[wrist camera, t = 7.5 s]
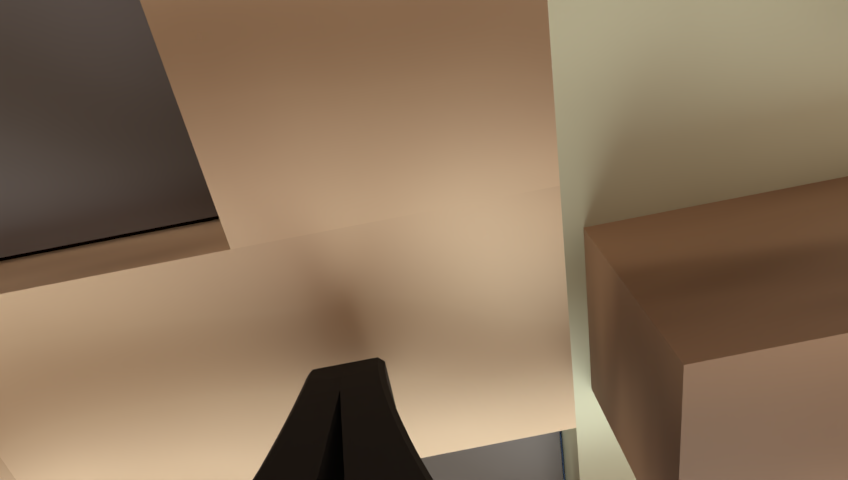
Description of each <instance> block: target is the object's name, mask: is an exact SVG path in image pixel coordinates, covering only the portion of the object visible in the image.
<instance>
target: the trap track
mask: <svg viewBox="0 0 848 480" xmlns="http://www.w3.org/2000/svg"><path fill="white" fill-rule="evenodd" d="M846 176H848V0H0V258H2V257H8V256H13V255H18V254H23V253H28V252H33V251H39V250H44V249H49V248H54V247H59V246H64V245H70V244H75V243H80V242H85V241H90V240H96V239H101V238H106V237H111V236H116V235H121V234H127V233H132V232H137V231H142V230H147V229H152V228H158V227H163V226H168V225H173V224H178V223H183V222H189V221H194V220H199V219H204V218H209V217H214V216H219V219H216V220H211V221H205V222H200V223H195V224H190V225H185V226H180V227H174V228H169V229H164V230H159V231H154V232H149V233H143V234H138V235H133V236H128V237H123V238H117V239H112V240H107V241H102V242H97V243H92V244H86V245H81V246H76V247H71V248H66V249H61V250H55V251H50V252H45V253H40V254H35V255H30V256H24V257H19V258H14V259H9V260H4V261H0V480H253V478H254V477H255V475H256V473H257V472H258V470H259V468H260V467H261V465H262V463H263V462H264V460H265V458H266V456H267V454H268V453H269V451H270V449H271V447H272V445H273V444H274V442H275V440H276V438H277V436H278V435H279V433H280V431H281V429H282V427H283V425H284V423H285V421H286V419H287V417H288V415H289V414H290V412H291V410H292V408H293V406H294V404H295V402H296V399H297V397H298V395H299V393H300V391H301V389H302V387H303V385H304V383H305V380H306V378H307V376H308V375H309V373H310V372H311V371H312V370H313V369H318V368H323V367H329V366H334V365H339V364H344V363H350V362H355V361H360V360H366V359H371V358H376V357H378V358H380V359H382V360H384V361H385V364H386V368H387V372H388V376H389V380H390V384H391V388H392V392H393V397H394V401H395V405H396V409H397V411H398V414H399V416H400V418H401V420H402V422H403V424H404V427H405V429H406V431H407V433H408V435H409V437H410V439H411V441H412V443H413V445H414V447H415V449H416V451H417V452H418V454H419V456H420V458H421V460H422V461H423V463H424V465H425V467H426V468H427V470H428V472H429V473H430V475H431V477H432V478H433V480H563V470H562V458H561V446H560V435H559V431H561V434H562V446H563V457H564V469H565V480H636V478H635V476H634V474H633V472H632V470H631V468H630V466H629V464H628V462H627V459H626V457H625V455H624V453H623V451H622V449H621V447H620V445H619V443H618V441H617V439H616V437H615V435H614V433H613V431H612V429H611V427H610V425H609V423H608V421H607V419H606V417H605V415H604V413H603V411H602V409H601V407H600V405H599V403H598V401H597V399H596V397H595V395H594V393H593V391H592V388H591V368H590V348H589V328H588V308H587V288H586V268H585V248H584V227H589V226H595V225H600V224H605V223H610V222H615V221H620V220H625V219H631V218H636V217H641V216H646V215H651V214H656V213H661V212H666V211H672V210H677V209H682V208H687V207H692V206H697V205H702V204H708V203H713V202H718V201H723V200H728V199H733V198H738V197H744V196H749V195H754V194H759V193H764V192H769V191H774V190H780V189H785V188H790V187H795V186H800V185H805V184H810V183H816V182H821V181H826V180H831V179H836V178H841V177H846Z"/></svg>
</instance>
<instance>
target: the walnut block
mask: <svg viewBox="0 0 848 480" xmlns="http://www.w3.org/2000/svg"><path fill="white" fill-rule="evenodd" d="M584 248H585V268H586V288H587V308H588V328H589V348H590V368H591V388H592V391H593V393H594V395H595V397H596V399H597V401H598V403H599V405H600V407H601V409H602V411H603V413H604V415H605V417H606V419H607V421H608V423H609V425H610V427H611V429H612V431H613V433H614V435H615V437H616V439H617V441H618V443H619V445H620V447H621V449H622V451H623V453H624V455H625V457H626V459H627V462H628V464H629V466H630V468H631V470H632V472H633V474H634V476H635V478H636V480H848V176H846V177H841V178H836V179H831V180H826V181H821V182H816V183H810V184H805V185H800V186H795V187H790V188H785V189H780V190H774V191H769V192H764V193H759V194H754V195H749V196H744V197H738V198H733V199H728V200H723V201H718V202H713V203H708V204H702V205H697V206H692V207H687V208H682V209H677V210H672V211H666V212H661V213H656V214H651V215H646V216H641V217H636V218H631V219H625V220H620V221H615V222H610V223H605V224H600V225H595V226H589V227H584Z"/></svg>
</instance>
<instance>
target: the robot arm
mask: <svg viewBox="0 0 848 480" xmlns="http://www.w3.org/2000/svg"><path fill="white" fill-rule="evenodd" d="M253 480H433V478H432V477H431V475H430V473H429V472H428V470H427V468H426V467H425V465H424V463H423V461H422V460H421V458H420V456H419V454H418V452H417V451H416V449H415V447H414V445H413V443H412V441H411V439H410V437H409V435H408V433H407V431H406V429H405V427H404V424H403V422H402V420H401V418H400V416H399V414H398V411H397V409H396V405H395V401H394V397H393V392H392V388H391V384H390V380H389V376H388V372H387V368H386V364H385V361H384V360H382V359H380V358H378V357H376V358H371V359H366V360H360V361H355V362H350V363H344V364H339V365H334V366H329V367H323V368H318V369H313V370H312V371H311V372H310V373H309V375H308V376H307V378H306V380H305V383H304V385H303V387H302V389H301V391H300V393H299V395H298V397H297V399H296V402H295V404H294V406H293V408H292V410H291V412H290V414H289V415H288V417H287V419H286V421H285V423H284V425H283V427H282V429H281V431H280V433H279V435H278V436H277V438H276V440H275V442H274V444H273V445H272V447H271V449H270V451H269V453H268V454H267V456H266V458H265V460H264V462H263V463H262V465H261V467H260V468H259V470H258V472H257V473H256V475H255V477H254V478H253Z"/></svg>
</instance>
